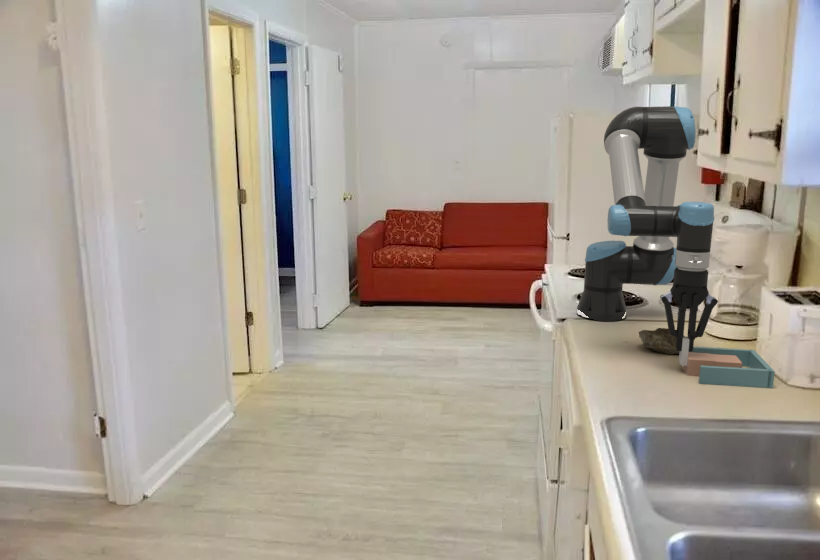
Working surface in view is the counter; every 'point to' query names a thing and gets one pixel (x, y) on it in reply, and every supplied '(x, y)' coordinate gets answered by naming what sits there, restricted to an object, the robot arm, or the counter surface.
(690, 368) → the tile
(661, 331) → the stone
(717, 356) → the tile
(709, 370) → the tray
